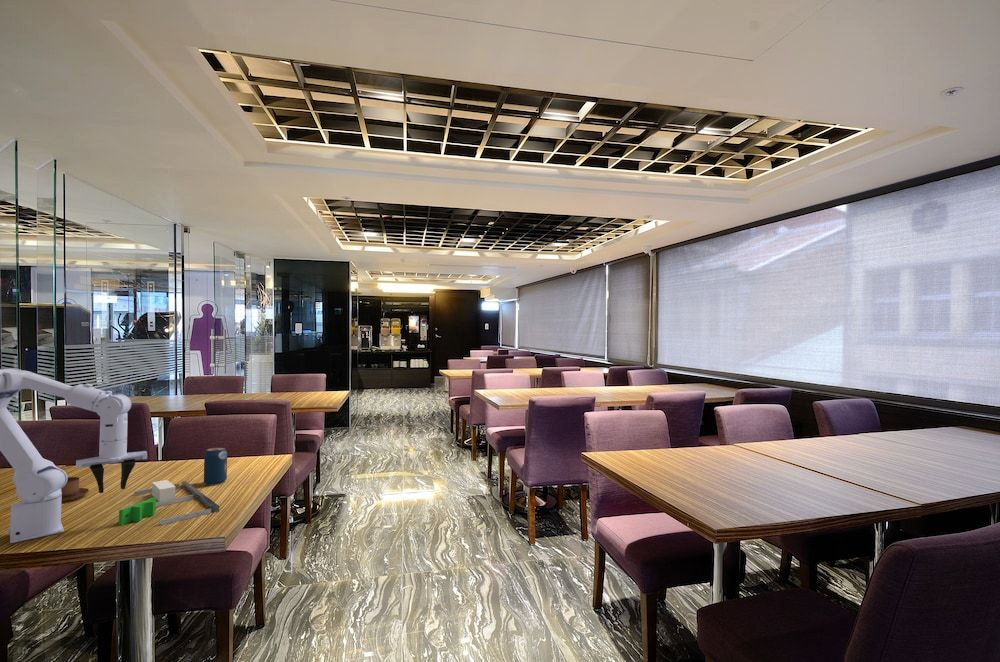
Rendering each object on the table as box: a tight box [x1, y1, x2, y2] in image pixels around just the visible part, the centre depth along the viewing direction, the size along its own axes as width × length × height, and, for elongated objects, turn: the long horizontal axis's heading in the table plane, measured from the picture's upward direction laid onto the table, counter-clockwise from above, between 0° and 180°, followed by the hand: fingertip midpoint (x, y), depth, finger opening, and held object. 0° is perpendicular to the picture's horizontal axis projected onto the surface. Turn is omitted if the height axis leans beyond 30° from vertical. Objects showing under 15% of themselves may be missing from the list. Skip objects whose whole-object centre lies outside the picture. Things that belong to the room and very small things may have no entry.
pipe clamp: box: [118, 497, 157, 526], centre depth 128 cm, size 10×4×4 cm, turn 173°
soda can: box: [203, 446, 228, 486], centre depth 161 cm, size 7×7×12 cm
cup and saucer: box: [61, 476, 90, 503], centre depth 144 cm, size 12×12×6 cm
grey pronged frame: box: [133, 480, 220, 526], centre depth 140 cm, size 14×37×2 cm, turn 47°
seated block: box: [151, 479, 177, 502], centre depth 146 cm, size 4×11×4 cm, turn 47°
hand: (112, 490), depth 123 cm, fingers open, 4 cm apart
